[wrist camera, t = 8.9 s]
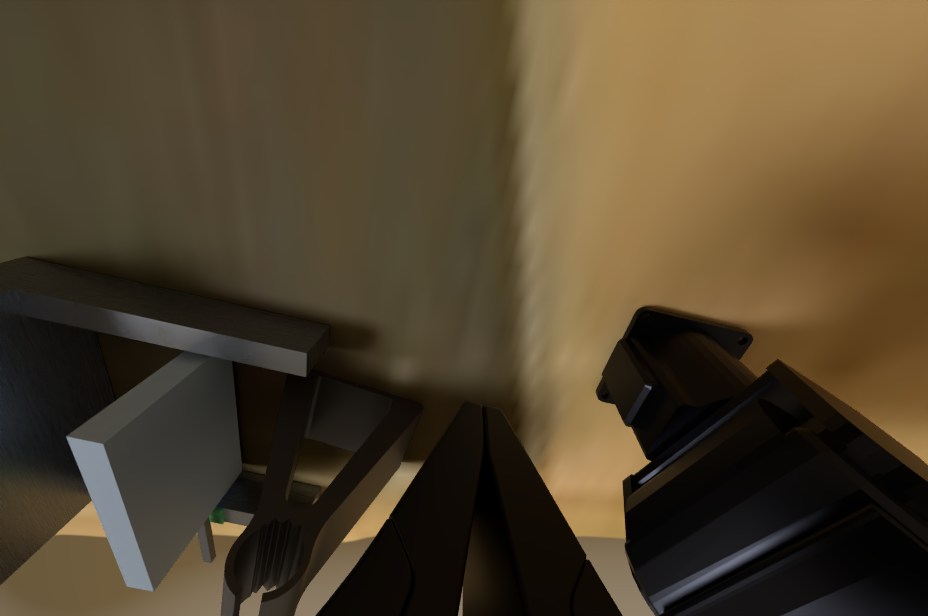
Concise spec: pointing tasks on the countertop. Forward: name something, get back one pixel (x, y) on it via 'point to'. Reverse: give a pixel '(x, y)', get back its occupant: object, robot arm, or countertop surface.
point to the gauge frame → (108, 383)
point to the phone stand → (339, 507)
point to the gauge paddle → (162, 464)
